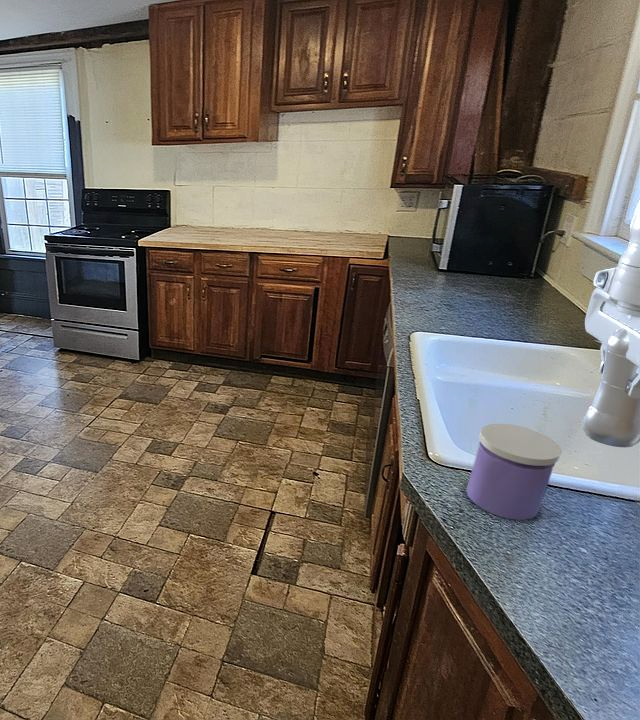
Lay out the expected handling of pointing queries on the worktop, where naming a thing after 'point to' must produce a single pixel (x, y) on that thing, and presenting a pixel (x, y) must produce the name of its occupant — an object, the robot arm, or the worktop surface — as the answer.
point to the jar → (512, 470)
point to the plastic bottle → (615, 398)
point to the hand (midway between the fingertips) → (620, 385)
